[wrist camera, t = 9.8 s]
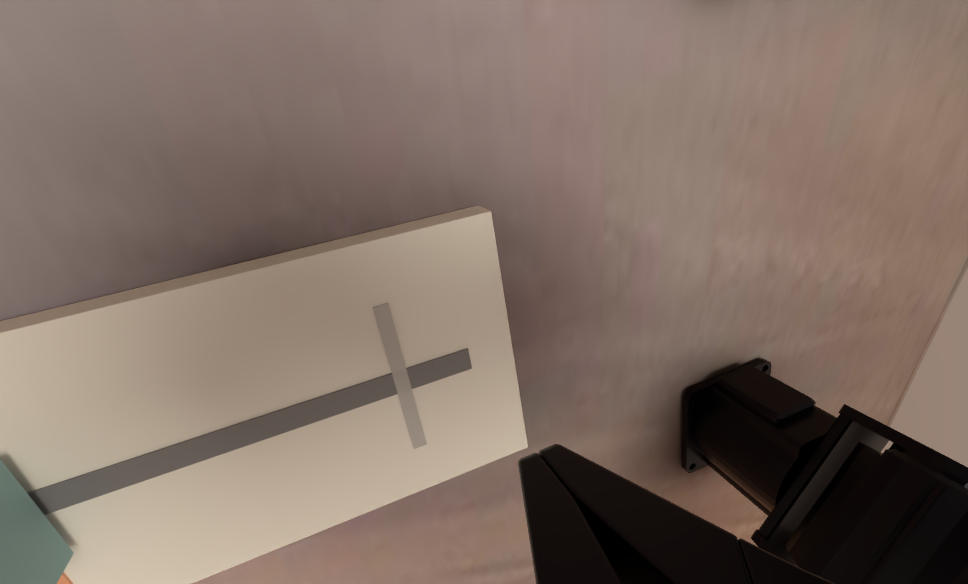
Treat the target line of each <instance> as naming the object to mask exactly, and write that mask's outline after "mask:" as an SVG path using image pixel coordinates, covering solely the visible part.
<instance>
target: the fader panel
mask: <svg viewBox="0 0 968 584" xmlns="http://www.w3.org/2000/svg"><path fill="white" fill-rule="evenodd" d="M527 447H528V445H527V438H526V432H525V425H524V419H523V413H522V406H521V400H520V393H519V387H518V381H517V374H516V368H515V361H514V355H513V349H512V342H511V336H510V329H509V323H508V317H507V310H506V304H505V297H504V291H503V285H502V278H501V272H500V265H499V259H498V252H497V246H496V240H495V233H494V227H493V220H492V214H491V211H489V210H487V209H485V208H483V207H481V206H479V205H478V206H473V207H469V208H465V209H461V210H457V211H453V212H449V213H445V214H440V215H436V216H432V217H428V218H424V219H420V220H416V221H412V222H407V223H403V224H399V225H395V226H391V227H387V228H383V229H379V230H374V231H370V232H366V233H362V234H358V235H354V236H350V237H346V238H341V239H337V240H333V241H329V242H325V243H321V244H317V245H313V246H308V247H304V248H300V249H296V250H292V251H288V252H284V253H280V254H275V255H271V256H267V257H263V258H259V259H255V260H251V261H247V262H242V263H238V264H234V265H230V266H226V267H222V268H218V269H214V270H209V271H205V272H201V273H197V274H193V275H189V276H185V277H181V278H176V279H172V280H168V281H164V282H160V283H156V284H152V285H148V286H143V287H139V288H135V289H131V290H127V291H123V292H119V293H115V294H110V295H106V296H102V297H98V298H94V299H90V300H86V301H82V302H77V303H73V304H69V305H65V306H61V307H57V308H53V309H49V310H44V311H40V312H36V313H32V314H28V315H24V316H20V317H16V318H11V319H7V320H3V321H0V459H1V460H2V462H3V463H4V464H5V466H6V467H7V468H8V469H9V471H10V472H11V473H12V474H13V476H14V477H15V478H16V480H17V481H18V482H19V483H20V485H21V486H22V487H23V489H24V490H25V491H26V492H27V494H28V495H29V496H30V497H31V499H32V500H33V501H34V503H35V504H36V505H37V506H38V508H39V509H40V510H41V512H42V513H43V514H44V515H45V517H46V518H47V519H48V520H49V522H50V523H51V524H52V526H53V527H54V528H55V529H56V531H57V532H58V533H59V535H60V536H61V537H62V538H63V540H64V541H65V542H66V543H67V545H68V546H69V547H70V549H71V550H72V551H73V552H74V554H73V556H72V557H71V559H70V561H69V563H68V565H67V566H66V568H65V570H64V572H63V573H62V575H61V577H60V579H59V581H58V582H57V584H192V583H194V582H197V581H199V580H202V579H204V578H207V577H209V576H212V575H214V574H217V573H219V572H222V571H224V570H226V569H229V568H231V567H234V566H236V565H239V564H241V563H244V562H246V561H249V560H251V559H254V558H256V557H259V556H261V555H263V554H266V553H268V552H271V551H273V550H276V549H278V548H281V547H283V546H286V545H288V544H291V543H293V542H296V541H298V540H300V539H303V538H305V537H308V536H310V535H313V534H315V533H318V532H320V531H323V530H325V529H328V528H330V527H333V526H335V525H337V524H340V523H342V522H345V521H347V520H350V519H352V518H355V517H357V516H360V515H362V514H365V513H367V512H370V511H372V510H375V509H377V508H379V507H382V506H384V505H387V504H389V503H392V502H394V501H397V500H399V499H402V498H404V497H407V496H409V495H412V494H414V493H416V492H419V491H421V490H424V489H426V488H429V487H431V486H434V485H436V484H439V483H441V482H444V481H446V480H449V479H451V478H453V477H456V476H458V475H461V474H463V473H466V472H468V471H471V470H473V469H476V468H478V467H481V466H483V465H486V464H488V463H490V462H493V461H495V460H498V459H500V458H503V457H505V456H508V455H510V454H513V453H515V452H518V451H520V450H523V449H525V448H527Z"/></svg>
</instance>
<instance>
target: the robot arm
mask: <svg viewBox="0 0 968 584" xmlns="http://www.w3.org/2000/svg"><path fill="white" fill-rule="evenodd" d="M770 373H771V363H770V362H769V361H767V360H765V359H759V360H757V361H754V362H752V363H749V364H747V365H744V366H742V367H740V368H737V369H735V370H732V371H730V372H727V373H725V374H722V375H720V376H718V377H715V378H713V379H710V380H708V381H705V382H703V383H701V384H698V385H696V386H693V387H691V388H689V389H688V390H687V391H686V392H685V394H684V397H683V436H682V468H683V469H685V470H686V471H687V472H688V473H692V472H694V471H696V470H698V469H700V468H703V467H705V466H707V465H709V466H710V467H711V468H712V469H714V470H715V471H716V472H717V473H718V474H720V475H721V476H722V477H723V478H724V479H725V480H727V481H728V482H729V483H730V484H731V485H732V486H734V487H735V488H736V489H737V490H738V491H739V492H741V493H742V494H743V495H744V496H745V497H747V498H748V499H749V500H750V501H751V502H752V503H754V504H755V505H756V506H757V507H758V508H759V509H761V510H762V511H763V512H764V513H765V514H766V515H768V517H767V519H766V520H765V521H764V523H763V524H762V526H761V527H760V529H759V530H756V531H755V532H754V533H753V535H752V536H751V539H752V540H753V541H754V542H755V543H756V545H757V546H758V547H757V546H755V545H753V544H751V543H749V542H747V541H745V540H743V539H739V540H738V539H737V537H736V536H735V535H733V534H731V533H729V532H727V531H726V530H724V529H722V528H720V527H718V526H716V525H714V524H712V523H710V522H708V521H706V520H704V519H702V518H700V517H698V516H697V515H695V514H693V513H691V512H689V511H687V510H685V509H683V508H681V507H679V506H677V505H675V504H673V503H671V502H670V501H668V500H666V499H664V498H662V497H660V496H658V495H656V494H654V493H652V492H650V491H648V490H646V489H644V488H642V487H641V486H639V485H637V484H635V483H633V482H631V481H629V480H627V479H625V478H623V477H621V476H619V475H617V474H615V473H613V472H612V471H610V470H608V469H606V468H604V467H602V466H600V465H598V464H596V463H594V462H592V461H590V460H588V459H586V458H584V457H583V456H581V455H579V454H577V453H575V452H573V451H571V450H569V449H567V448H565V447H563V446H561V445H559V444H554V445H552V446H549V447H547V448H545V449H542V450H540V451H539V453H538V454H537V453H533V454H531V455H528V456H526V457H524V458H521V459H520V460H519V461H518V466H519V473H520V479H521V486H522V492H523V499H524V506H525V512H526V519H527V525H528V532H529V539H530V545H531V552H532V558H533V565H534V572H535V578H536V584H968V468H967V467H965V466H964V465H962V464H960V463H958V462H956V461H954V460H952V459H950V458H948V457H946V456H945V455H942V454H941V453H939V452H937V451H935V450H933V449H931V448H929V447H927V446H925V445H923V444H921V443H919V442H917V441H915V440H913V439H912V438H910V437H908V436H906V435H904V434H902V433H900V432H898V431H896V430H894V429H892V428H890V427H888V426H886V425H884V424H882V423H880V422H878V421H876V420H874V419H872V418H870V417H868V416H867V415H865V414H863V413H861V412H859V411H857V410H855V409H853V408H851V407H849V406H847V405H845V404H844V405H843V407H842V408H841V410H840V411H839V412H838V413H840V415H839V416H838V418H836V417H834V416H833V415H831V414H829V413H827V412H825V411H824V410H822V409H820V408H818V407H816V406H815V401H814V400H813V399H812V398H810V397H808V396H806V395H805V394H803V393H801V392H799V391H797V390H795V389H794V388H792V387H790V386H788V385H786V384H784V383H783V382H781V381H779V380H777V379H775V378H773V377H771V376H770ZM889 440H890V441H892V442H893V445H892V446H891V447H890V448H889V449H888V450H885V452H884V453H881V451H882V449H883V448H884V447H885V445H886V444H887V443H888V441H889Z"/></svg>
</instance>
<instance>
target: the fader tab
mask: <svg viewBox="0 0 968 584" xmlns="http://www.w3.org/2000/svg"><path fill="white" fill-rule="evenodd" d="M73 554H74V552H73V551H72V550H71V549H70V547H69V546H68V545H67V543H66V542H65V541H64V540H63V538H62V537H61V536H60V535H59V533H58V532H57V531H56V529H55V528H54V527H53V526H52V524H51V523H50V522H49V520H48V519H47V518H46V517H45V515H44V514H43V513H42V512H41V510H40V509H39V508H38V506H37V505H36V504H35V503H34V501H33V500H32V499H31V497H30V496H29V495H28V494H27V492H26V491H25V490H24V489H23V487H22V486H21V485H20V483H19V482H18V481H17V480H16V478H15V477H14V476H13V474H12V473H11V472H10V471H9V469H8V468H7V467H6V466H5V464H4V463H3V462H2V460H1V459H0V584H57V582H58V581H59V579H60V577H61V575H62V573H63V572H64V570H65V568H66V566H67V565H68V563H69V561H70V559H71V557H72V556H73Z"/></svg>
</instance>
